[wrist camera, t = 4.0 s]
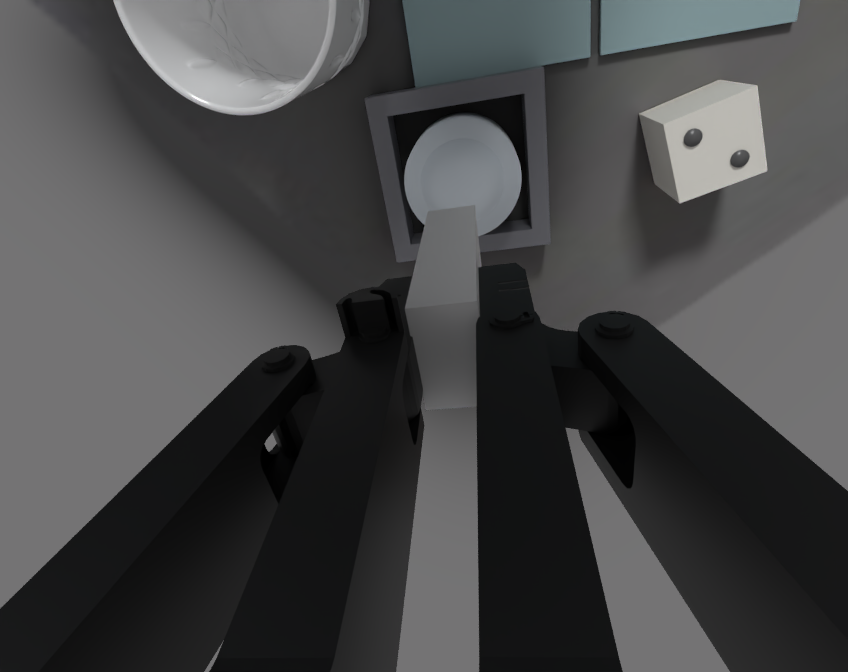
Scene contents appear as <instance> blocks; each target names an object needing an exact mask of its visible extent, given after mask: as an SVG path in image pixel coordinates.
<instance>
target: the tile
mask: <svg viewBox="0 0 848 672" xmlns="http://www.w3.org/2000/svg"><path fill="white" fill-rule="evenodd" d="M402 2H403V9H404V15H405V22H406V28H407V35H408V41H409V48H410V55H411V61H412V68H413V74H414V81H415V87H416V88H417V87H422V86H428V85H434V84H439V83H445V82H451V81H457V80H462V79H468V78H474V77H479V76H485V75H491V74H497V73H502V72H508V71H514V70H520V69H525V68H531V67H537V66H542V65H548V64H554V63H560V62H565V61H571V60H577V59H583V58H588V57H590V41H591V0H402Z"/></svg>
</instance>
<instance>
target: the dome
mask: <svg viewBox="0 0 848 672" xmlns="http://www.w3.org/2000/svg"><path fill="white" fill-rule="evenodd" d="M521 182H522V173H521V166H520V162H519V159H518V156H517V154H516V151H515V149H514V146H513V144H512V141H511V140H510V138H509V136H508V134H507V133H506V132H505V131H504V129H503V128H502V127H501V126H500V125H499V124H497V123H496V122H495V121H493V120H492V119H490V118H488V117H486V116H484V115H481V114H477V113H472V112H457V113H452V114H449V115H446V116H443V117H441V118H440V119H438V120H436V121H435V122H433V123H432V124H431V125H429V126H428V127H427V128H426V129H425V130H424V132H423V133H422V134H421V136H420V137H419V139H418V140H417V142H416V144H415V146H414V148H413V149H412V151H411V153H410V156H409V158H408V160H407V164H406V167H405V174H404V186H405V193H406V197H407V200H408V202H409V205H410V207H411V209H412V211H413V212H414V214H415V215H416V217H417V218H418V219H419V220H420V221H421V222H422V223H423V224H424V225H425V221H426V217H427V213H428V211H434V210H441V209H449V208H456V207H464V206H471V205H475V211H476V220H477V229H478V236H481V235H484V234H486V233H488V232H490V231H492V230H493V229H495V228H496V227H498V226H499V225H500V224H501V223H502V222H503V221H504V220H505V219H506V218H507V217H508V216H509V214H510V213H511V212H512V210H513V208H514V206H515V205H516V202H517V200H518V197H519V194H520V190H521Z"/></svg>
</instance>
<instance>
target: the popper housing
mask: <svg viewBox="0 0 848 672" xmlns="http://www.w3.org/2000/svg"><path fill="white" fill-rule="evenodd" d="M519 94H521V98H522V115H523V132H524V149H525V166H526V183H527V200H528V217H529V219H521V220H514V221H506V222H502V223H501V224H500V225H499V226H498V227H496V228H495V229H493V230H492V231H490V232H488V233H486V234H484V235H481V236H478V238H479V247H480V252H489V251H497V250H505V249H513V248H521V247H529V246H538V245H546V244H551V236H550V209H549V183H548V156H547V129H546V103H545V76H544V67H542V66H537V67H531V68H525V69H520V70H514V71H508V72H502V73H497V74H491V75H485V76H479V77H474V78H468V79H462V80H457V81H451V82H445V83H439V84H434V85H428V86H422V87H417V88H416V87H415V88H409V89H403V90H397V91H392V92H386V93H380V94H374V95H370V96H368V97H366V98H365V99H364V100H365V105H366V110H367V115H368V120H369V125H370V130H371V135H372V140H373V145H374V150H375V155H376V160H377V165H378V170H379V175H380V180H381V185H382V190H383V195H384V200H385V205H386V210H387V215H388V220H389V225H390V230H391V235H392V240H393V245H394V250H395V255H396V260H397V263H398V262H407V261H415V260H416V259H417V255H418V251H419V247H420V242H421V238H422V234H423V232H422V233H414V232H413V226H412V220H411V215H410V209H409V203H408V200H407V197H406V193H405V186H404V175H403V169H402V164H401V158H400V152H399V147H398V141H397V135H396V130H395V124H394V118H393V115H399V114H405V113H411V112H417V111H423V110H429V109H435V108H441V107H447V106H453V105H459V104H465V103H471V102H477V101H483V100H489V99H495V98H501V97H507V96H513V95H519Z"/></svg>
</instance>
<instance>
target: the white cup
mask: <svg viewBox="0 0 848 672" xmlns="http://www.w3.org/2000/svg"><path fill="white" fill-rule="evenodd" d="M113 1H114V4H115V7H116V10H117V12H118V15H119V17H120V19H121V22H122V24H123V26H124V28H125V30H126V32H127V34H128V36H129V37H130V39H131V41H132V42H133V44H134V46H135V47H136V49H137V50H138V52H139V53H140V54H141V56H142V57H143V59H144V60H145V61H146V62H147V64H148V65H149V66H150V67H151V68H152V69H153V70H154V72H155V73H156V74H157V75H158V76H159V77H160V78H161V79H162V80H163V81H165V82H166V83H167V84H168V85H169V86H170V87H172V88H173V89H174V90H175V91H177V92H178V93H180V94H181V95H182V96H184V97H186V98H187V99H189V100H191V101H192V102H194V103H196V104H198V105H200V106H203V107H205V108H208V109H210V110H213V111H217V112H220V113H225V114H231V115H256V114H262V113H266V112H269V111H272V110H275V109H277V108H280V107H282V106H284V105H285V104H287V103H289V102H291V101H293V100H295V99H297V98H299V97H301V96H303V95H305V94H307V93H309V92H311V91H313V90H315V89H316V88H318V87H320V86H322V85H324V84H325V83H326V82H327V81H329V80H331V79H332V78H333V77H335V76H336V75H337V74H338V73H339V72H340V71H341V70H342V69H344V68H345V67H347V66H348V65H350V64H351V63H352V62H353V60H354V58H355V56H356V54H357V53H358V51H359V49H360V47H361V45H362V43H363V42H364V40H365V38H366V36H367V26H368V15H369V5H370V0H113Z"/></svg>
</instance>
